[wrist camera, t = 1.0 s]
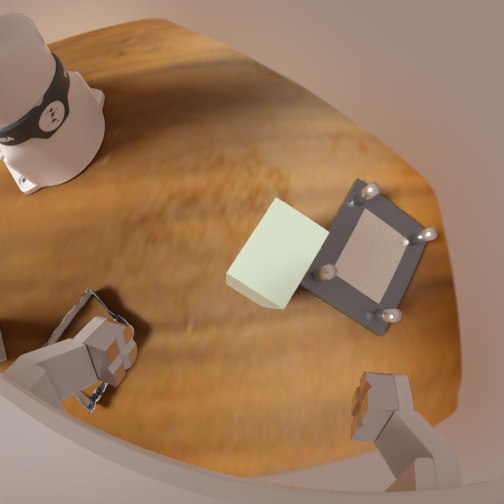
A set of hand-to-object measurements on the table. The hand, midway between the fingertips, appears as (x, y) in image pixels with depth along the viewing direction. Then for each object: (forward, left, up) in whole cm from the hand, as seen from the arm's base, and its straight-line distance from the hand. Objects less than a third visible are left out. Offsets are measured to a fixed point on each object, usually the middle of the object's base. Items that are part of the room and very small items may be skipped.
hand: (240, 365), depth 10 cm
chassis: (+11, +16, -27) cm, 33 cm away
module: (0, +7, -27) cm, 28 cm away
